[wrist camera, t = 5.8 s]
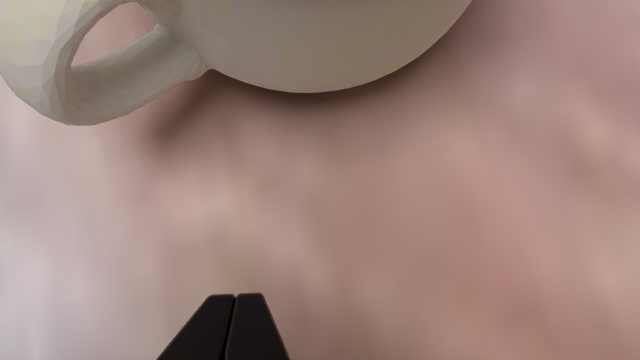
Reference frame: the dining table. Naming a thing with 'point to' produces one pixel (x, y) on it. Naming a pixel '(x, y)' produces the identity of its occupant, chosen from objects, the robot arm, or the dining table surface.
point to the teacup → (209, 48)
